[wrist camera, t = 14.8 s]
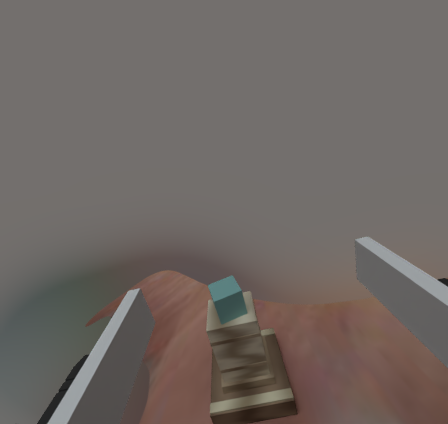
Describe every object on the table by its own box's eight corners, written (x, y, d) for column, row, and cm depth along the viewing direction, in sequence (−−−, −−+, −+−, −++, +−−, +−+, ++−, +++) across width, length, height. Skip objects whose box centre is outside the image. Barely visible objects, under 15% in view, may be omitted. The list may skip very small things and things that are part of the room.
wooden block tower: (265, 342, 38) (252, 288, 35) (275, 384, 32) (260, 322, 28) (223, 350, 39) (205, 298, 35) (224, 394, 32) (202, 335, 28)
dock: (275, 339, 42) (272, 327, 41) (297, 414, 30) (294, 398, 29) (216, 351, 42) (212, 339, 41) (215, 429, 31) (209, 415, 30)
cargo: (238, 296, 34) (232, 275, 33) (247, 313, 30) (241, 290, 29) (214, 306, 33) (207, 285, 32) (221, 324, 29) (214, 301, 28)
